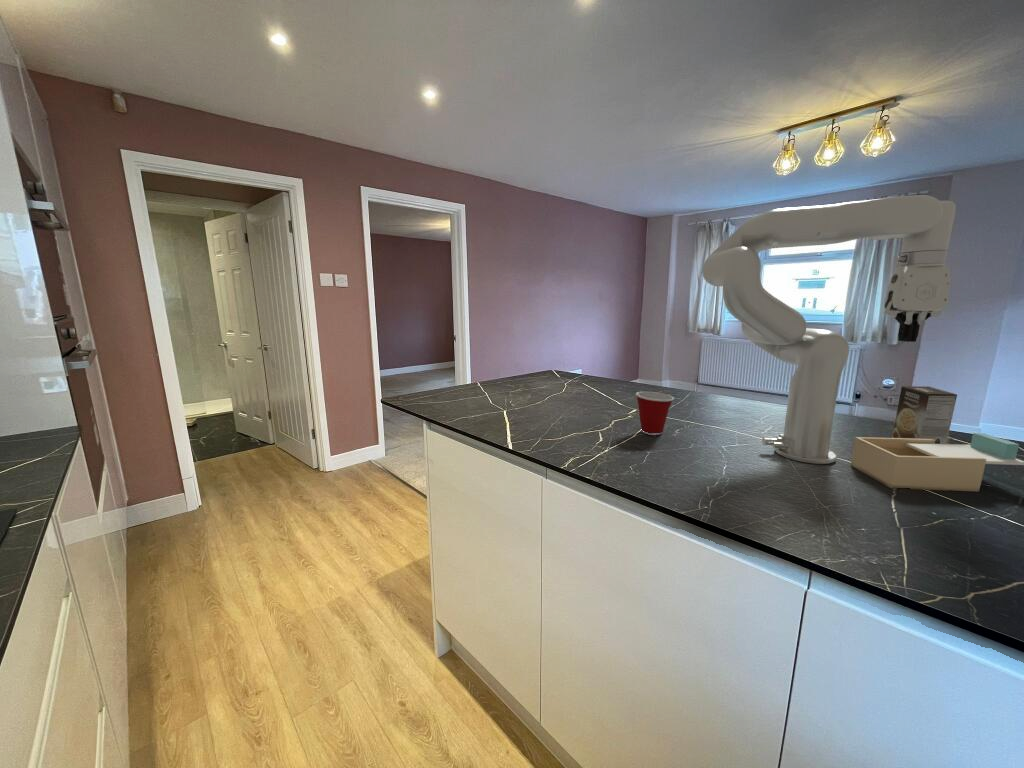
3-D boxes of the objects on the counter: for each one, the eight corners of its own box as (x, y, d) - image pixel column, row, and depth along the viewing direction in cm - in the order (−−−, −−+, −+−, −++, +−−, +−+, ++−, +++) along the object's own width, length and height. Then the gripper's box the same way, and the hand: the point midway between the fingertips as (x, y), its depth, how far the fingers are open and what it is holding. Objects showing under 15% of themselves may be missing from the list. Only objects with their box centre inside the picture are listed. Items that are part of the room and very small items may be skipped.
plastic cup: (677, 438, 115) (680, 398, 112) (640, 439, 115) (642, 398, 113) (664, 427, 125) (666, 390, 123) (629, 427, 126) (631, 390, 123)
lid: (946, 462, 81) (950, 445, 81) (905, 445, 91) (908, 429, 90) (1025, 465, 80) (1030, 447, 79) (975, 447, 89) (979, 431, 88)
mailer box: (890, 488, 83) (896, 456, 81) (850, 465, 94) (855, 437, 93) (978, 491, 81) (986, 459, 79) (926, 467, 92) (932, 438, 91)
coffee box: (889, 443, 108) (899, 385, 105) (917, 444, 107) (928, 386, 104) (915, 455, 99) (927, 393, 96) (945, 457, 98) (959, 393, 95)
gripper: (896, 260, 89) (882, 342, 92) (976, 258, 86) (958, 343, 90) (872, 263, 96) (860, 339, 99) (945, 261, 93) (930, 339, 97)
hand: (906, 341), depth 95 cm, fingers closed
